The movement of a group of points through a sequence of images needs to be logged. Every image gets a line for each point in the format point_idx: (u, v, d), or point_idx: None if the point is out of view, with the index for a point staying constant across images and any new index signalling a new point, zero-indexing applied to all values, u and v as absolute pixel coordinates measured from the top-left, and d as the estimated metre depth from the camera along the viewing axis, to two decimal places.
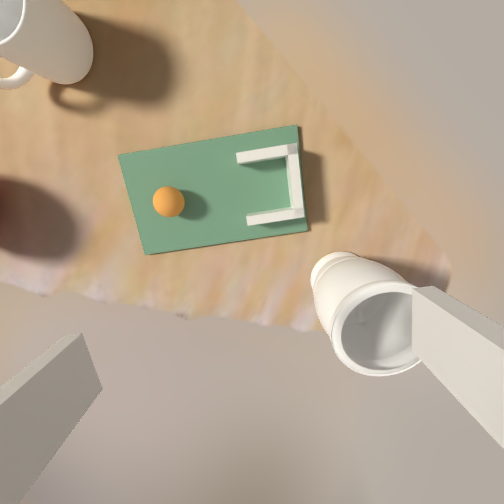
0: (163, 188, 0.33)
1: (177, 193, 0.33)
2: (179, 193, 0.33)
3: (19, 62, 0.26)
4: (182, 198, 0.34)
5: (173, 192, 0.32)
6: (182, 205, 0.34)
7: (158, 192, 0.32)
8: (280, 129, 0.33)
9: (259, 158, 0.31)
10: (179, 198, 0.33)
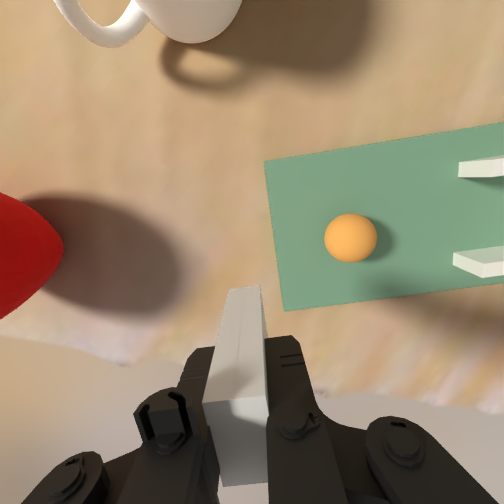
0: (352, 218, 0.20)
1: (373, 225, 0.20)
2: (373, 225, 0.20)
3: None
4: None
5: (370, 225, 0.19)
6: None
7: (348, 226, 0.19)
8: None
9: None
10: (376, 234, 0.20)
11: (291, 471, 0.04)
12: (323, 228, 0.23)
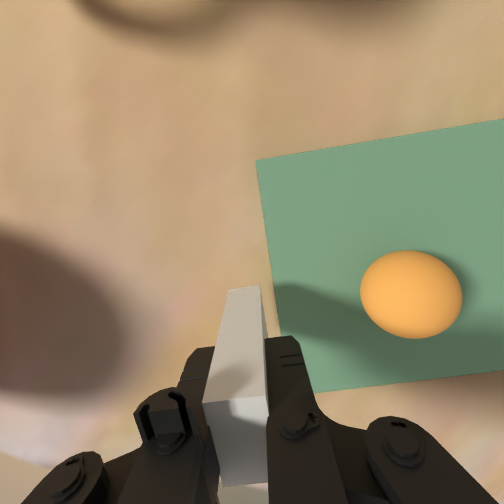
0: (418, 263, 0.11)
1: (455, 275, 0.11)
2: None
3: None
4: None
5: (453, 277, 0.10)
6: None
7: (413, 279, 0.10)
8: None
9: None
10: (461, 291, 0.11)
11: (291, 471, 0.04)
12: (355, 271, 0.14)
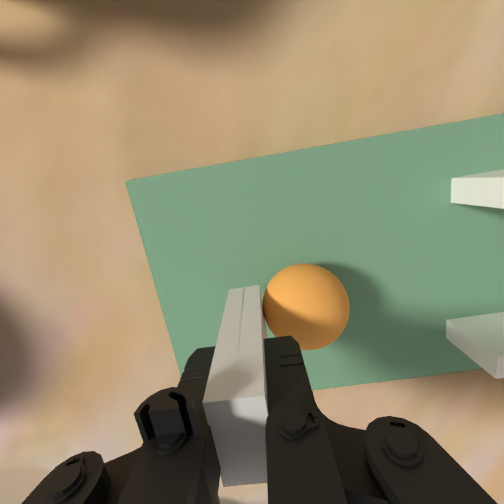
0: (318, 273, 0.11)
1: None
2: None
3: None
4: None
5: (338, 279, 0.12)
6: None
7: (324, 290, 0.11)
8: None
9: None
10: None
11: (290, 471, 0.04)
12: (235, 285, 0.14)
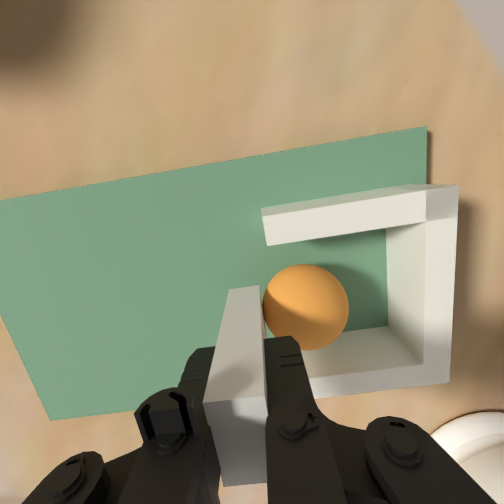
0: (281, 274, 0.12)
1: (296, 305, 0.10)
2: (304, 306, 0.10)
3: None
4: (311, 323, 0.10)
5: (282, 300, 0.11)
6: (308, 341, 0.11)
7: None
8: (380, 138, 0.12)
9: (335, 232, 0.10)
10: (293, 323, 0.11)
11: (290, 471, 0.04)
12: (73, 307, 0.15)
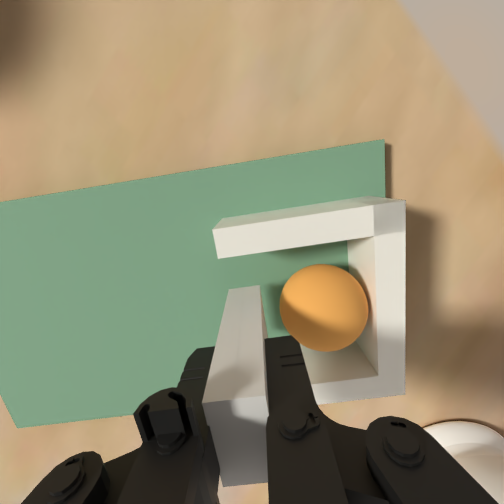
0: (319, 277, 0.11)
1: (359, 287, 0.11)
2: (360, 286, 0.11)
3: None
4: None
5: (352, 289, 0.11)
6: None
7: (311, 294, 0.11)
8: (338, 151, 0.12)
9: (285, 246, 0.10)
10: (366, 303, 0.11)
11: (291, 471, 0.04)
12: (38, 315, 0.15)
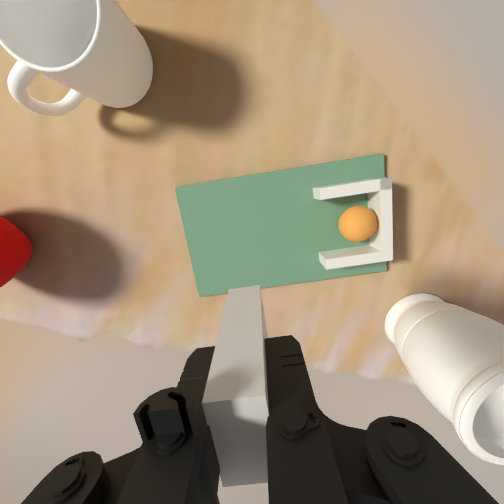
0: (357, 208, 0.28)
1: (373, 213, 0.28)
2: (373, 213, 0.28)
3: (78, 87, 0.22)
4: (376, 219, 0.28)
5: (370, 213, 0.27)
6: None
7: (354, 214, 0.27)
8: (364, 158, 0.29)
9: (346, 194, 0.27)
10: (376, 219, 0.28)
11: (291, 471, 0.04)
12: (222, 234, 0.31)
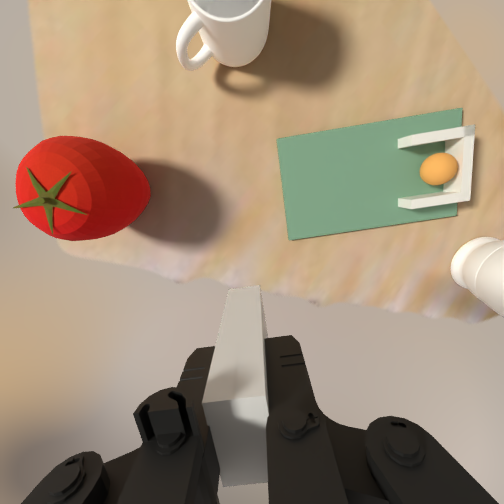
0: (441, 154, 0.32)
1: None
2: (454, 158, 0.32)
3: (228, 40, 0.26)
4: None
5: (453, 157, 0.32)
6: None
7: (439, 158, 0.32)
8: (445, 112, 0.33)
9: (434, 140, 0.31)
10: (457, 163, 0.32)
11: (291, 471, 0.04)
12: (314, 182, 0.36)
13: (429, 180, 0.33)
